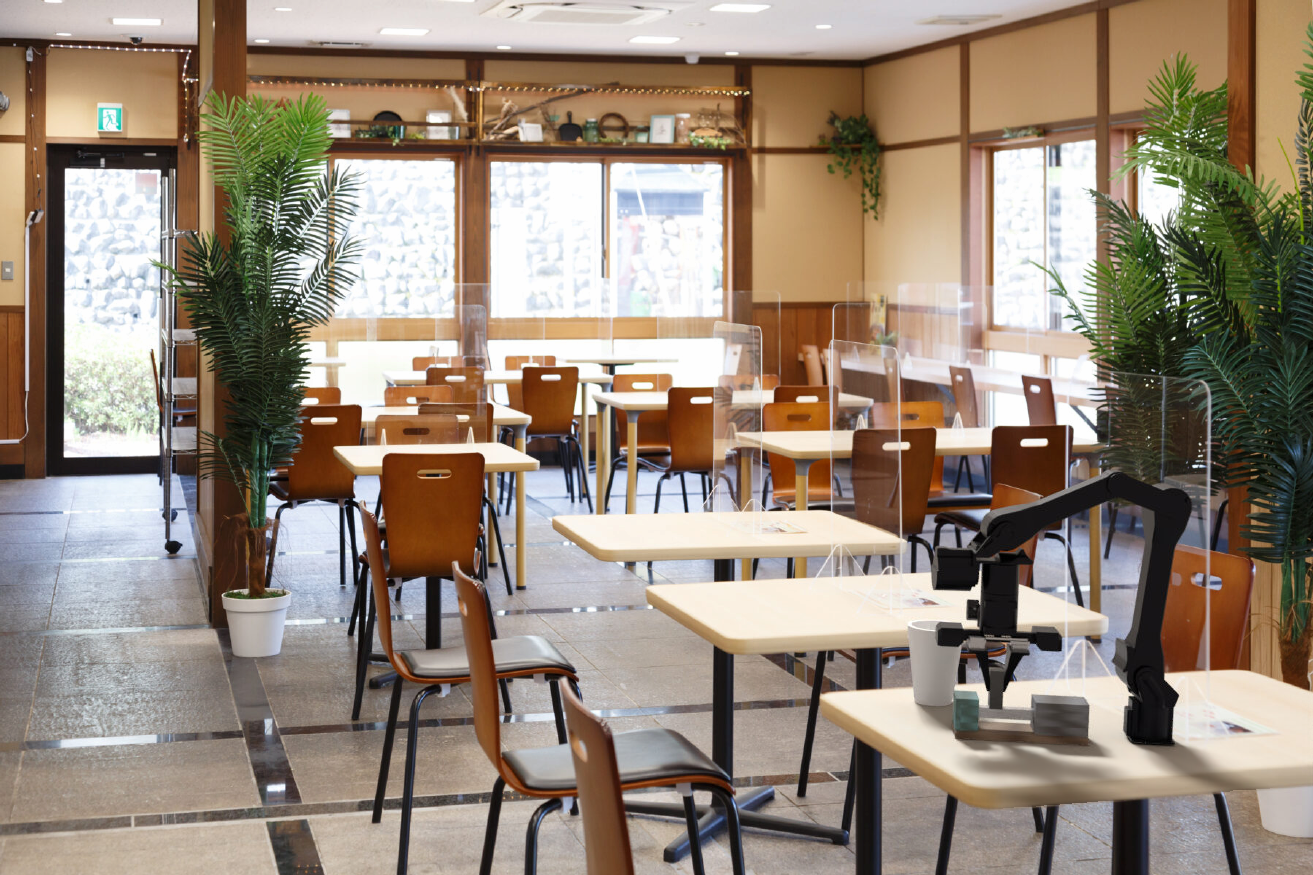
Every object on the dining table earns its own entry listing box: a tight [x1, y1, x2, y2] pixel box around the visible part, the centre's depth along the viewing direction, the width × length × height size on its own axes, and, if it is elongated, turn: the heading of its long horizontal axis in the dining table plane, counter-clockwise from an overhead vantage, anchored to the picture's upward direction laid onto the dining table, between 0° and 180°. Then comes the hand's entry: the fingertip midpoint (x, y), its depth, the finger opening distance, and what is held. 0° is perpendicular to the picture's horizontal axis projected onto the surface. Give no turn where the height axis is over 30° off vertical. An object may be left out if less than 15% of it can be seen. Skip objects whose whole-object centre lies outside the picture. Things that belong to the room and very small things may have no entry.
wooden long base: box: [951, 689, 1090, 747], centre depth 222 cm, size 20×7×6 cm, turn 83°
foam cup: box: [906, 619, 965, 707], centre depth 241 cm, size 10×9×13 cm
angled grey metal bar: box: [979, 666, 1034, 721], centre depth 222 cm, size 13×2×8 cm, turn 83°
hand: (995, 690), depth 222 cm, fingers closed on angled grey metal bar, 2 cm apart
